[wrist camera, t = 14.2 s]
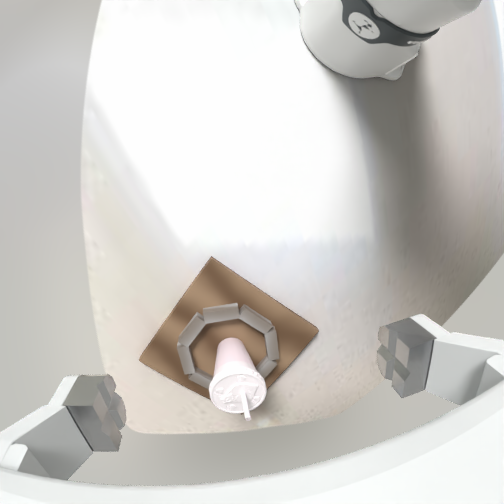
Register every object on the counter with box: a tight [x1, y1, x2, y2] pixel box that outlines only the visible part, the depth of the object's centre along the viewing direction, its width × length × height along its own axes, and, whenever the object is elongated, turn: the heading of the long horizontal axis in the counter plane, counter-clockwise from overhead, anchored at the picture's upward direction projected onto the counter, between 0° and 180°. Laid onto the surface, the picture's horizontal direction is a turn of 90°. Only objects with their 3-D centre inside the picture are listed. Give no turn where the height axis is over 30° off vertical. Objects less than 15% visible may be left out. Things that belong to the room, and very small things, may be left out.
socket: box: [139, 256, 319, 414], centre depth 41 cm, size 18×18×3 cm
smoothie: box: [209, 338, 267, 421], centre depth 35 cm, size 6×6×14 cm
